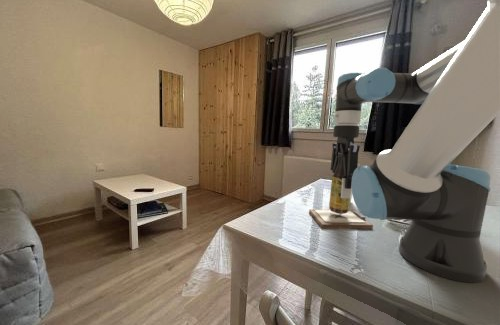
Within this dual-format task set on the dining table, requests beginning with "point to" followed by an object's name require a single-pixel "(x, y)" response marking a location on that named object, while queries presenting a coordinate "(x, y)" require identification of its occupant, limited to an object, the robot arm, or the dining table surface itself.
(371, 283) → the dining table surface
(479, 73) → the robot arm
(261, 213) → the dining table surface
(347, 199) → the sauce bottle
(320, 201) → the dining table surface
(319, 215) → the wooden board
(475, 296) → the dining table surface
